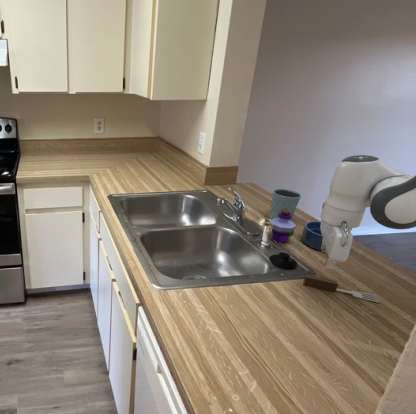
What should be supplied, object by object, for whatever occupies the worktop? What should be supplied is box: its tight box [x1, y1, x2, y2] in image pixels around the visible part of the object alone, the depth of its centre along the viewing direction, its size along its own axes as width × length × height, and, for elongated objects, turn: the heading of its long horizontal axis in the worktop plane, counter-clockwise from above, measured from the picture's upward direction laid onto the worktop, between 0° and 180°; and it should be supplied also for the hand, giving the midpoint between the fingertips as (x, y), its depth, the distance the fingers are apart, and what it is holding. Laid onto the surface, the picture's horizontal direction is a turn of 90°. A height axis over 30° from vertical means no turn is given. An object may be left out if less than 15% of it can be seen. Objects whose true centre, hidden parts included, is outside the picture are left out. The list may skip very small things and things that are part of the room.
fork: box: [302, 273, 380, 304], centre depth 95 cm, size 18×3×3 cm, turn 64°
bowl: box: [300, 220, 323, 252], centre depth 120 cm, size 13×13×6 cm
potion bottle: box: [270, 209, 297, 244], centre depth 122 cm, size 9×9×12 cm
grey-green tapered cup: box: [268, 188, 302, 222], centre depth 138 cm, size 10×10×12 cm
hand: (326, 259), depth 94 cm, fingers open, 8 cm apart
